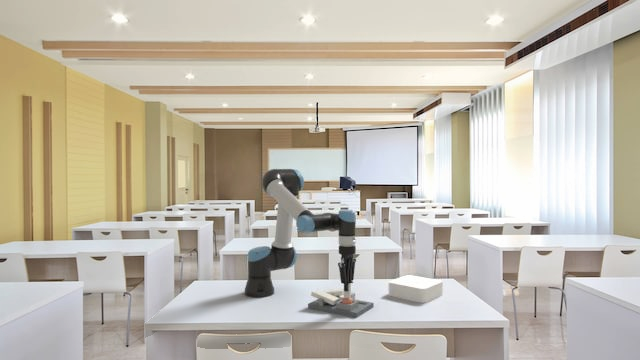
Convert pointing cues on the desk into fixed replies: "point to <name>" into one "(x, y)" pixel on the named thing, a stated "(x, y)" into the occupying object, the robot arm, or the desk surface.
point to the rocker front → (325, 297)
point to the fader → (353, 296)
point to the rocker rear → (335, 292)
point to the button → (346, 300)
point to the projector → (416, 288)
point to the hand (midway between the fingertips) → (347, 297)
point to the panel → (342, 307)
